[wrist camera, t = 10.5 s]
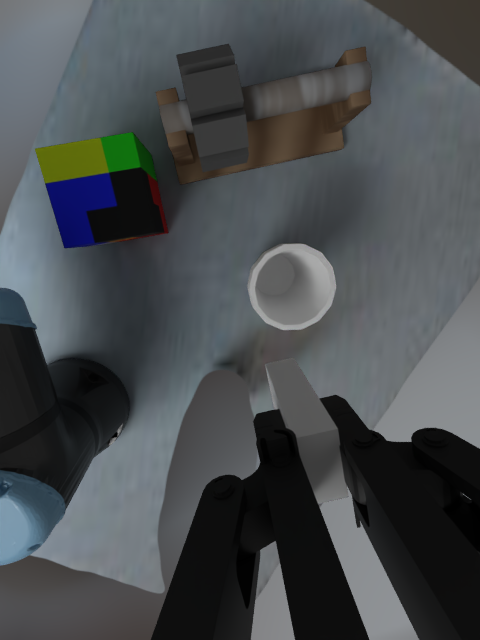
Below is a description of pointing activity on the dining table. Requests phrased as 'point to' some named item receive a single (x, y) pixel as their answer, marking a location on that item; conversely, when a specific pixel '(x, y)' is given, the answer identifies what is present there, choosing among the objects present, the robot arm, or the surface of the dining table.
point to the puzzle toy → (102, 190)
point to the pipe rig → (279, 117)
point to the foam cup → (291, 286)
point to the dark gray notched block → (215, 106)
